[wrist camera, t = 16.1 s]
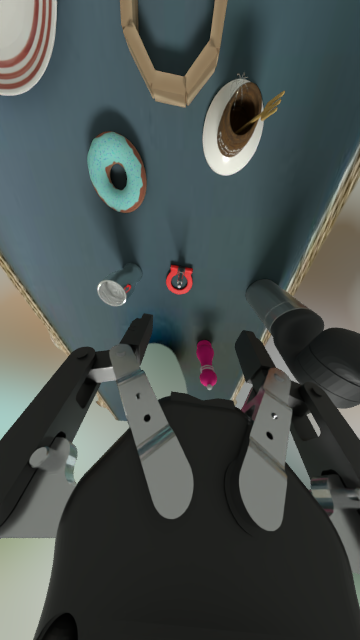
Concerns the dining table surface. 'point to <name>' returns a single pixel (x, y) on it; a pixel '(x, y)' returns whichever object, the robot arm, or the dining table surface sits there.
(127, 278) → the beer glass
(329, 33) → the dining table surface
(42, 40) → the dinner plate
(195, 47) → the dining table surface
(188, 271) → the tow hook
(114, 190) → the donut
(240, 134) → the utensil holder
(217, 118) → the coaster
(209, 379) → the pepper mill
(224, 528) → the robot arm
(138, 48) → the oak ring
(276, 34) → the dining table surface
